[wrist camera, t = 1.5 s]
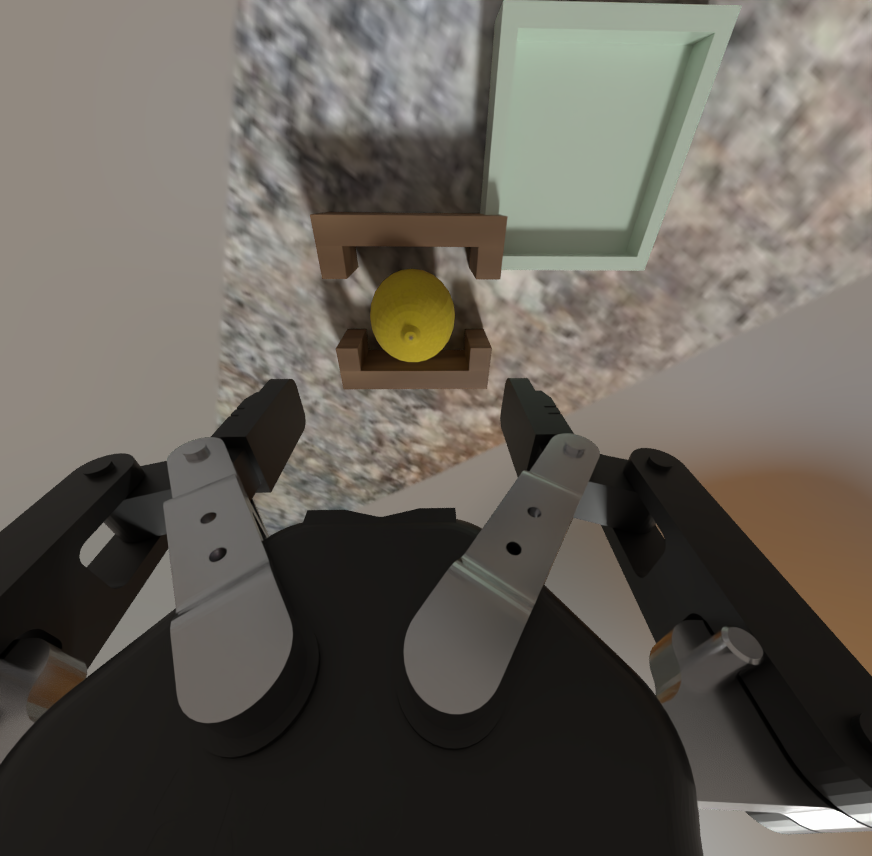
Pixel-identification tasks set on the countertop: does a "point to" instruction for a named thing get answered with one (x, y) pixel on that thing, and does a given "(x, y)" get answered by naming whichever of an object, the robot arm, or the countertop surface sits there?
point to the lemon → (412, 315)
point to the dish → (593, 124)
